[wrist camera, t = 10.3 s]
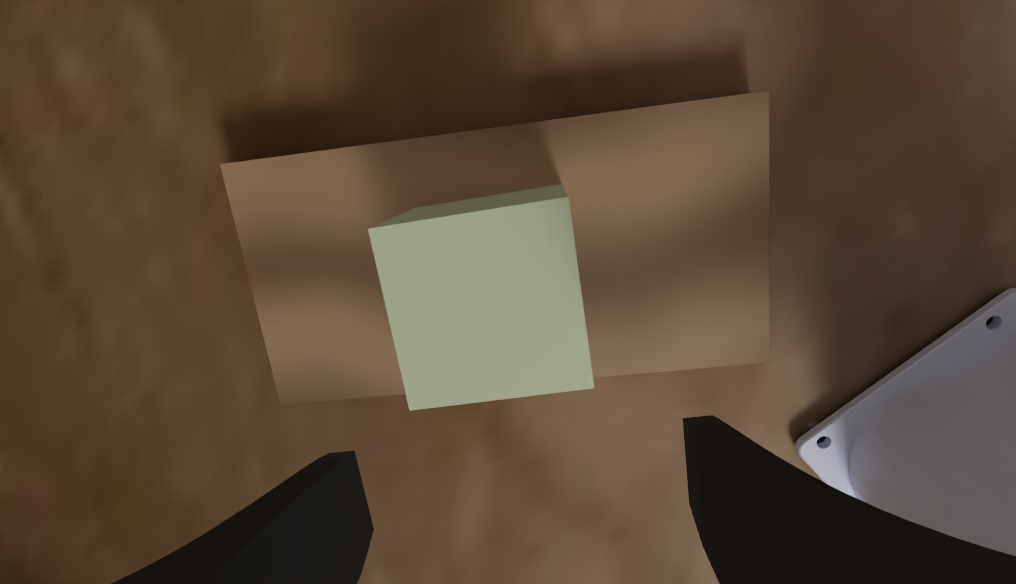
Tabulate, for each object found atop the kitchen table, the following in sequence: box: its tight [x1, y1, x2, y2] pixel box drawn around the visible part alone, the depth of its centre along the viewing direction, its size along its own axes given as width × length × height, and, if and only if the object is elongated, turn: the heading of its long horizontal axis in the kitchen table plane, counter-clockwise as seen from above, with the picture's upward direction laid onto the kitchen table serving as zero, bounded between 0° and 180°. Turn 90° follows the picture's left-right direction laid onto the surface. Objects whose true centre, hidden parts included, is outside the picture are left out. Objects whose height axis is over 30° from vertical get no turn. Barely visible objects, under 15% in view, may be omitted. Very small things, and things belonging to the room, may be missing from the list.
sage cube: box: [368, 184, 594, 410], centre depth 16 cm, size 5×5×5 cm
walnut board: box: [220, 91, 770, 405], centre depth 19 cm, size 9×18×2 cm, turn 97°
